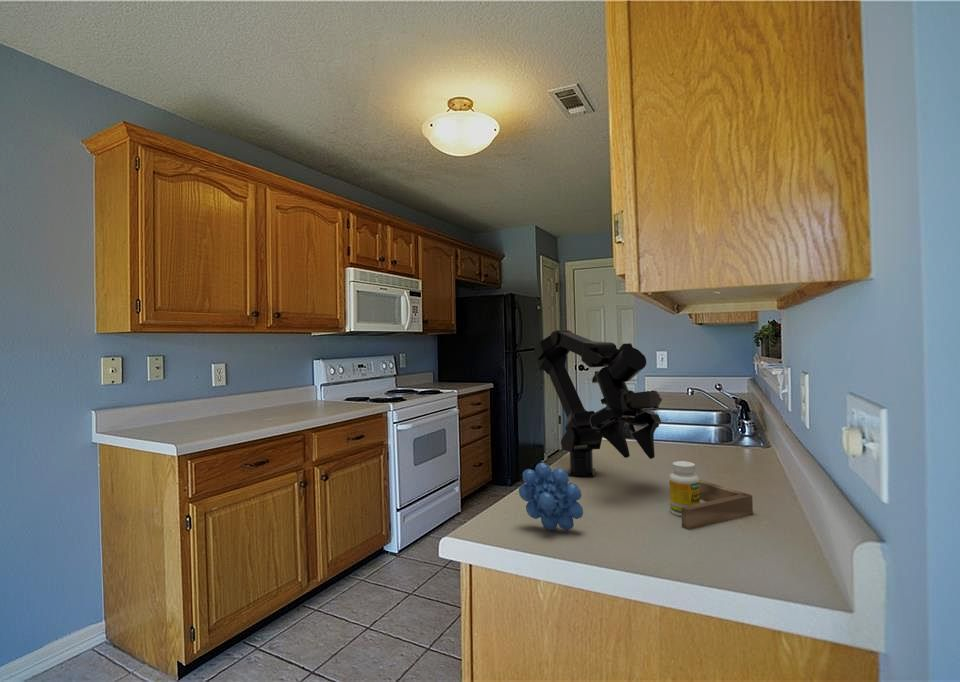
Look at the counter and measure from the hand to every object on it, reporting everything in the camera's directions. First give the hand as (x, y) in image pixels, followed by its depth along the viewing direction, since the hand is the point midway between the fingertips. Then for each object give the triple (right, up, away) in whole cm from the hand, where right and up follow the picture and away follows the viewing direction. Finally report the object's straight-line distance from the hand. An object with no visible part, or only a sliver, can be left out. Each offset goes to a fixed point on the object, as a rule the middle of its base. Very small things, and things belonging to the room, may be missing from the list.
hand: (640, 457), depth 103 cm
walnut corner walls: (+7, -9, -6) cm, 13 cm away
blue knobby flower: (-21, -10, -16) cm, 28 cm away
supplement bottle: (+6, -9, -9) cm, 14 cm away
